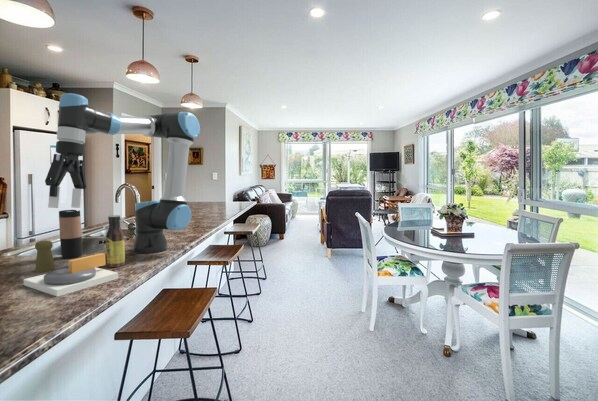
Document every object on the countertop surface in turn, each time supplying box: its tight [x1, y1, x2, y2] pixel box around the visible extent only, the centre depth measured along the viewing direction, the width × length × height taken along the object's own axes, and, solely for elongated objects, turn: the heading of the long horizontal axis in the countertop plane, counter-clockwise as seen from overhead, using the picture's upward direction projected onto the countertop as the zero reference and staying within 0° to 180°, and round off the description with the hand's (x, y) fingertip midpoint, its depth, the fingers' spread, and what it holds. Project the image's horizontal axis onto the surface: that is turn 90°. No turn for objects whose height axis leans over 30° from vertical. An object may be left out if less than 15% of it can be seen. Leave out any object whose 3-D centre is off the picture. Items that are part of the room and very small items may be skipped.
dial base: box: [23, 267, 119, 297], centre depth 110 cm, size 19×20×2 cm
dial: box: [43, 252, 107, 285], centre depth 109 cm, size 18×14×6 cm
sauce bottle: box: [105, 214, 126, 268], centre depth 127 cm, size 6×6×20 cm
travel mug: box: [58, 209, 83, 260], centre depth 140 cm, size 8×8×20 cm
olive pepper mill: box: [34, 239, 56, 273], centre depth 122 cm, size 6×6×11 cm
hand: (65, 207), depth 105 cm, fingers open, 13 cm apart
